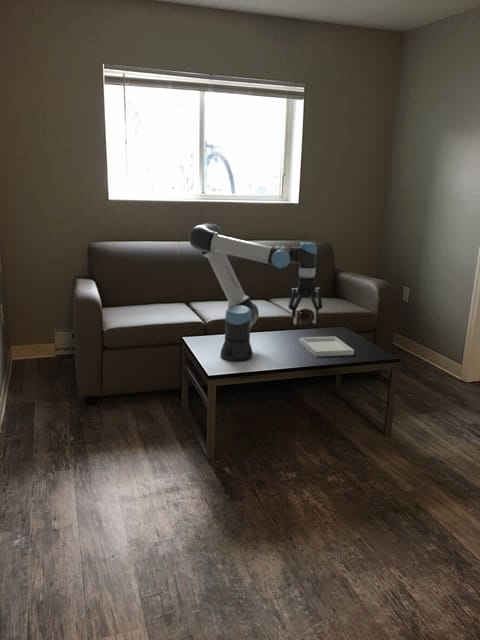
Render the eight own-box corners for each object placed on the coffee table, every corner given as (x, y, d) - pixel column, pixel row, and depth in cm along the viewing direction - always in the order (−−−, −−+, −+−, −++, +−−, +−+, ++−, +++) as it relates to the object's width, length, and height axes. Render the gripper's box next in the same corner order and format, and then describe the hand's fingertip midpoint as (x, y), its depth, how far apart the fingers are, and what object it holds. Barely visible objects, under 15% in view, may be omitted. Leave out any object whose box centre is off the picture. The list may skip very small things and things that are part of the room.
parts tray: (315, 356, 247) (315, 351, 246) (299, 342, 267) (299, 337, 266) (353, 354, 252) (354, 350, 251) (334, 340, 272) (335, 336, 271)
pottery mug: (317, 323, 246) (319, 311, 240) (307, 335, 241) (309, 323, 235) (296, 313, 251) (296, 301, 245) (285, 325, 246) (286, 313, 240)
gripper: (287, 278, 232) (285, 326, 238) (331, 277, 236) (328, 324, 242) (282, 275, 239) (280, 322, 245) (325, 274, 243) (323, 320, 249)
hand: (304, 323), depth 243 cm, fingers closed on pottery mug, 9 cm apart
